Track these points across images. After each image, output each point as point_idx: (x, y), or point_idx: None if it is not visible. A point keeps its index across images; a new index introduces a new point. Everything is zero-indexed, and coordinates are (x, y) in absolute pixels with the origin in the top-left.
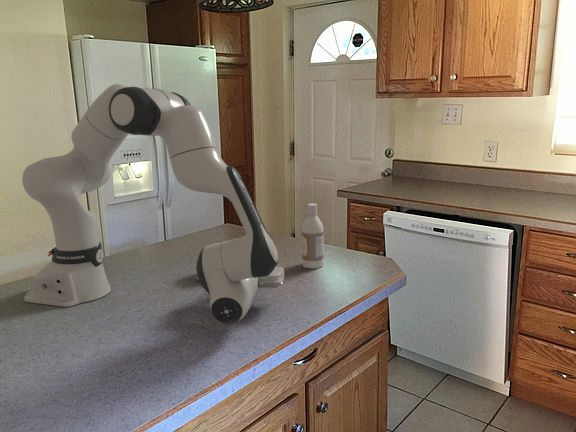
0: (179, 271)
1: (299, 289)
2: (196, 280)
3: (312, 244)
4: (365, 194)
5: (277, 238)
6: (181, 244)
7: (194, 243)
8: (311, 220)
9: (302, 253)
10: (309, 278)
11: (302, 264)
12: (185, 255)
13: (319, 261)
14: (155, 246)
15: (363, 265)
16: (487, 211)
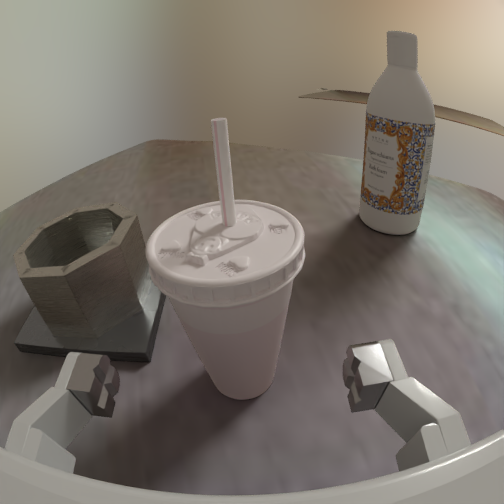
0: (10, 284)
1: (456, 379)
2: (21, 347)
3: (415, 160)
4: (326, 99)
5: (246, 150)
6: (61, 189)
7: (83, 182)
8: (411, 80)
9: (372, 188)
10: (434, 289)
11: (367, 221)
12: (51, 218)
13: (420, 212)
14: (22, 202)
15: (486, 214)
16: (469, 125)
